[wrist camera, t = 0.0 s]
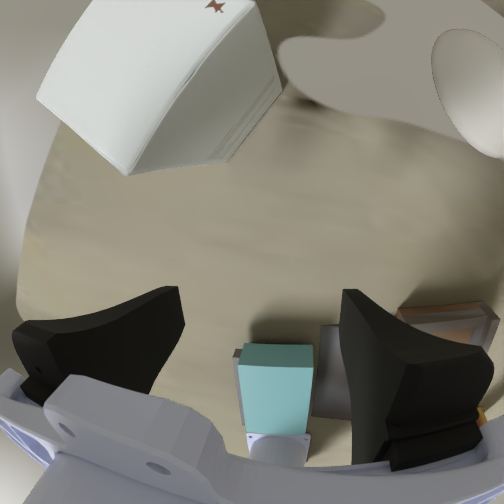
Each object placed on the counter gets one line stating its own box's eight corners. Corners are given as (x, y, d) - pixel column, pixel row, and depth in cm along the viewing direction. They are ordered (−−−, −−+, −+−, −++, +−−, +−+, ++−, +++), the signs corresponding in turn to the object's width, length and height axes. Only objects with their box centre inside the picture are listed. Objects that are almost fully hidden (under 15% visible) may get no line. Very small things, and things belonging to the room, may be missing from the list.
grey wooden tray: (436, 406, 25) (445, 429, 21) (309, 419, 28) (308, 447, 24) (479, 298, 20) (500, 319, 16) (321, 307, 23) (324, 335, 19)
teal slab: (306, 408, 26) (305, 435, 23) (247, 406, 28) (240, 431, 24) (312, 339, 23) (313, 367, 20) (239, 337, 24) (230, 364, 21)
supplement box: (208, 45, 17) (122, -39, 5) (285, 91, 17) (265, -1, 6) (154, 117, 19) (30, 98, 8) (224, 167, 20) (126, 182, 8)
